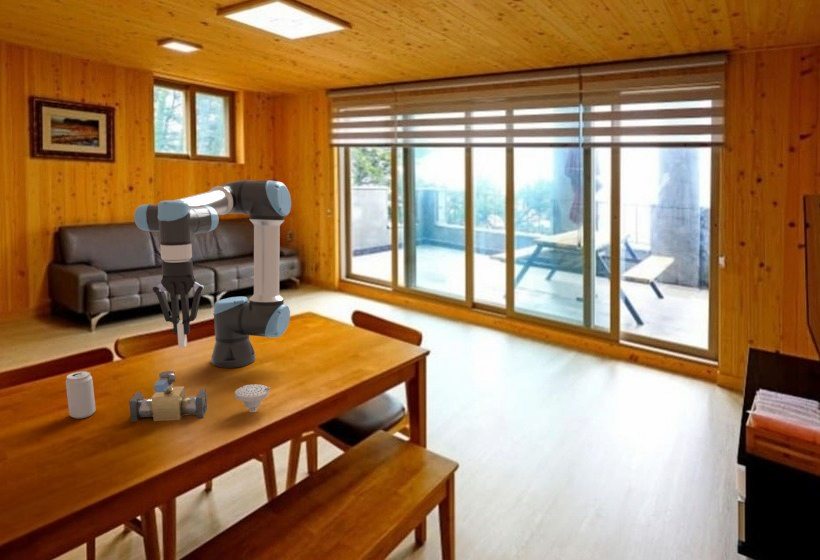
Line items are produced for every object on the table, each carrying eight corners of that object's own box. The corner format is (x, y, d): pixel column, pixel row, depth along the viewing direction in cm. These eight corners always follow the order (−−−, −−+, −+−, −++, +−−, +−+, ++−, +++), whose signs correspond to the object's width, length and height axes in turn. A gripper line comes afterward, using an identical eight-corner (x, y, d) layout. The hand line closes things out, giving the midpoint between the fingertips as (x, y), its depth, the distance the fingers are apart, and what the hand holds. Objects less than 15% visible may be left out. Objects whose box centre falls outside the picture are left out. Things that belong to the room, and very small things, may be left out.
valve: (153, 421, 152) (150, 388, 150) (160, 410, 159) (158, 378, 157) (180, 419, 153) (177, 387, 151) (186, 408, 160) (183, 377, 158)
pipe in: (180, 418, 154) (179, 398, 153) (185, 409, 160) (184, 390, 158) (203, 417, 155) (201, 397, 154) (207, 408, 161) (206, 389, 159)
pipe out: (131, 421, 152) (129, 401, 150) (138, 412, 158) (136, 392, 156) (154, 420, 153) (152, 400, 151) (160, 411, 158) (158, 391, 157)
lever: (162, 379, 156) (161, 371, 155) (176, 378, 156) (176, 370, 156) (151, 393, 146) (151, 384, 146) (167, 392, 147) (167, 384, 146)
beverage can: (89, 407, 160) (84, 368, 157) (100, 413, 156) (96, 373, 154) (65, 415, 155) (60, 375, 152) (76, 421, 151) (71, 380, 149)
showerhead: (267, 393, 154) (231, 394, 153) (268, 417, 155) (232, 418, 154) (273, 380, 163) (238, 381, 162) (274, 403, 164) (239, 404, 164)
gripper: (206, 257, 149) (211, 341, 153) (155, 257, 147) (162, 342, 152) (199, 262, 142) (204, 349, 146) (146, 262, 140) (153, 351, 144)
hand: (182, 345), depth 149 cm, fingers closed
